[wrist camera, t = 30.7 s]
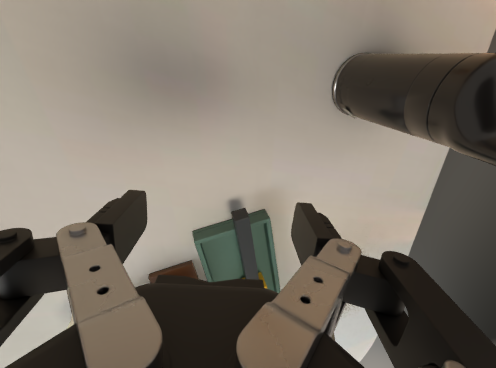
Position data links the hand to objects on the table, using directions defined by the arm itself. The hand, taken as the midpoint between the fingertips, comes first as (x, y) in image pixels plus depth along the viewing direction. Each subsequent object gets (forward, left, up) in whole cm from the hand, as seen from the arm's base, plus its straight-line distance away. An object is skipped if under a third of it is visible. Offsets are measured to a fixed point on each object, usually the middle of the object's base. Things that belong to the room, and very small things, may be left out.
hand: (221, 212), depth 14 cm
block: (-6, +27, -24) cm, 37 cm away
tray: (-5, +31, -26) cm, 41 cm away
